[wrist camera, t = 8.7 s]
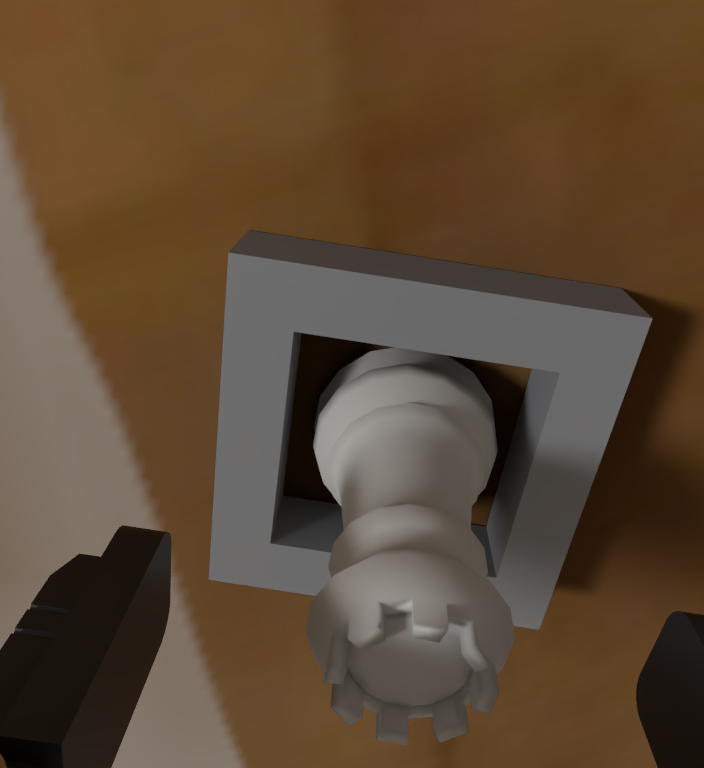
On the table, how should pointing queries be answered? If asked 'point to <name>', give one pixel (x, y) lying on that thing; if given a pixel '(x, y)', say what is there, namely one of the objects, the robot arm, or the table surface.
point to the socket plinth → (427, 334)
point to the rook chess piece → (408, 545)
